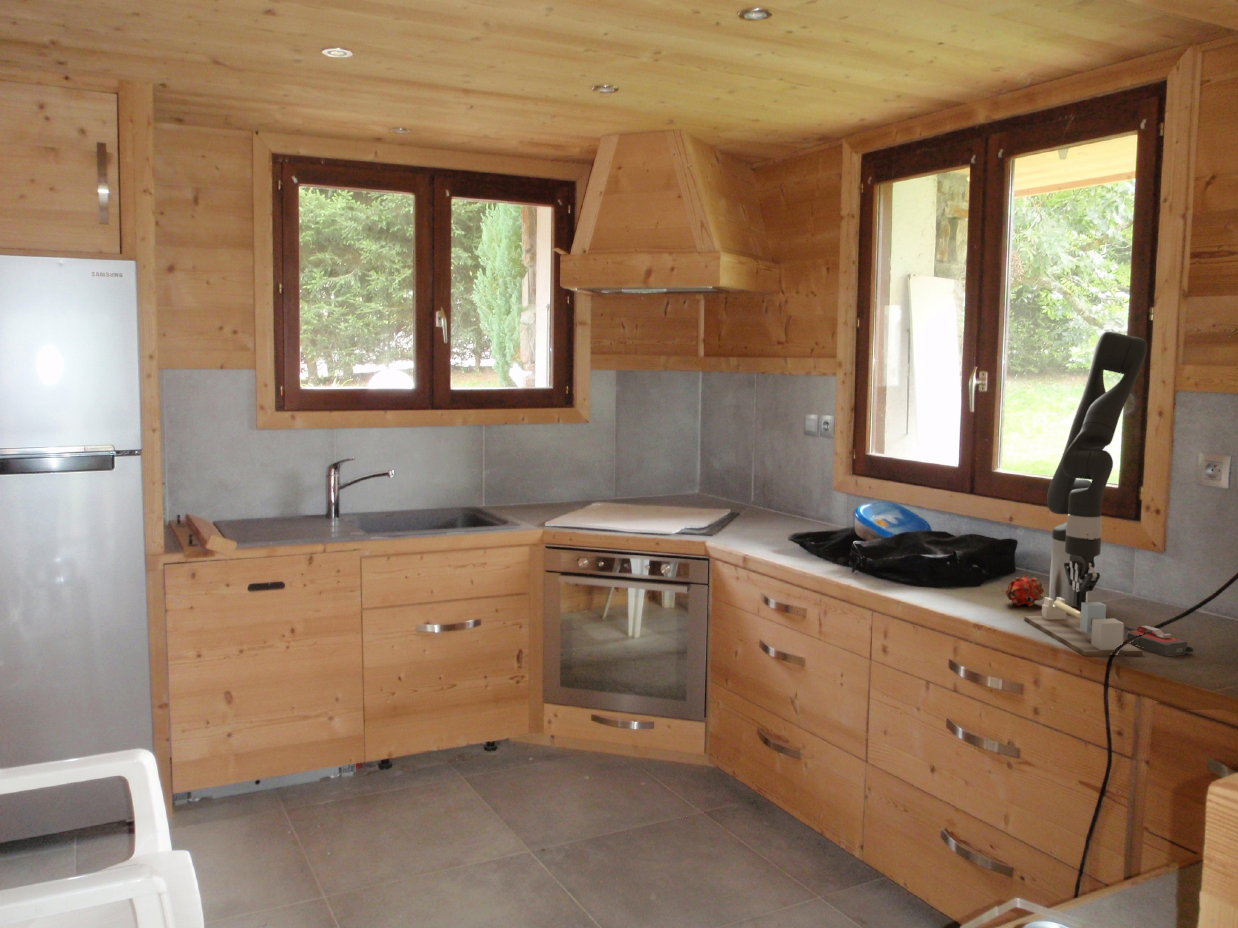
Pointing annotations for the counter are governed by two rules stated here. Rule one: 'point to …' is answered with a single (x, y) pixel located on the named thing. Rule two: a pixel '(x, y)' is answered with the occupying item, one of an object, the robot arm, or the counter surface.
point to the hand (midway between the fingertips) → (1079, 606)
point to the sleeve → (1091, 614)
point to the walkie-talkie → (1157, 641)
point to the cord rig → (1103, 630)
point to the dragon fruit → (1024, 591)
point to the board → (1075, 635)
